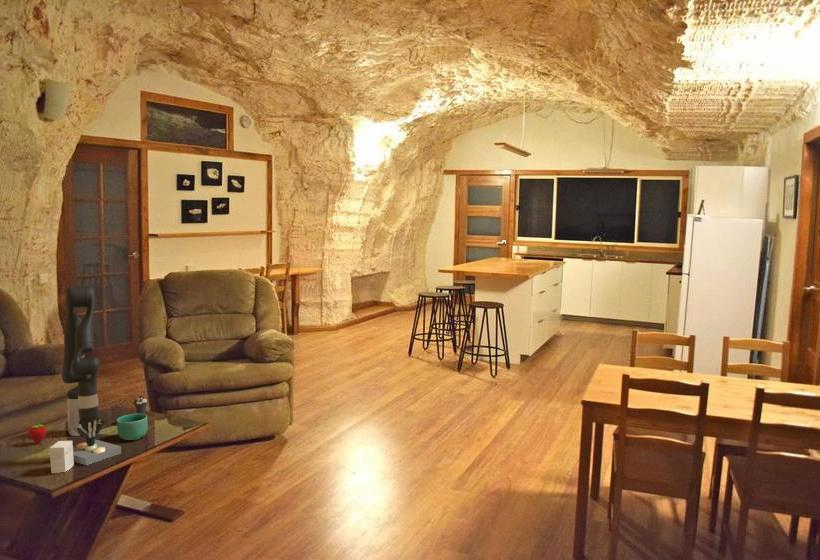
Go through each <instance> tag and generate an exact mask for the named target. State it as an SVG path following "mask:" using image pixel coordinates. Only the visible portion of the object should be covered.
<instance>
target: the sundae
mask: <svg viewBox="0 0 820 560" xmlns="http://www.w3.org/2000/svg"><path fill="white" fill-rule="evenodd" d="M145 393H146V391H143V393H142V394H140V395H139V396H137V398H136V399H135V398H133V401H134V402H133V403H132V405H134V407H135V410H136V414H145V415H146V411H147V405H148V403H149V400H147V399H146V396H145Z"/></svg>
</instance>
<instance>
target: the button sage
mask: <svg viewBox="0 0 820 560" xmlns="http://www.w3.org/2000/svg"><path fill="white" fill-rule="evenodd" d="M94 448H97V444H94V445H93V446H88V445H85V451H88V452H90V451H92V450H93V449H94Z"/></svg>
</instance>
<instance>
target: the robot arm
mask: <svg viewBox="0 0 820 560" xmlns="http://www.w3.org/2000/svg"><path fill="white" fill-rule="evenodd" d="M65 290H66V291H65V325H64V326H65V327H64V337H63V340H64V341H63V342H64V344H63V345H64V346H63V347H64V349H63V359H62V360H63V361H62V367H61V378H62V379H61V380H62V382H63V383H65V384H76V383H77V385H76V386H74V387H73V388H71V389H69V390H68V391H67V393H66V399H67V400H66V401H67V416H66V417H67V418H66V419H67V430H68V434H69V436H73V437H77V436H79V437H80V436H81V438H82V437H83V438H85V440H86V443H87V445H88V446H93V445H94V444H95V440H96V438H95V437H96V435H99V433H100V432H101V430H102V428H103V426H104V425H105V421H106V420H104V419H101V418H100V415H99V414H100V410H99V409H100V407H99V396H98V389H97V387H98V385H97V381H98V376H99V371H100V369H101V361H100V359H99V358H98V357H96V356H90V357H89V356H88V357H83V356H85V355H87V354H91V353H93V352H94V350H95V341H94V340H95V339H94V325H95V323H94V322H95V310H96V309H95V305H96V304H95V303H96V291H95V288H94V287H93V286H92V285H70V286H67V287H66V289H65ZM75 308H86V311H85V315H84V316H83V319H81V318H80V316H79V315H78V313H77V312H76V309H75Z"/></svg>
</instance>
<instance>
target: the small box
mask: <svg viewBox="0 0 820 560" xmlns="http://www.w3.org/2000/svg"><path fill="white" fill-rule="evenodd" d="M73 447H74V445H73V440H58V441H57V442H55V443H54V444H53V445H52V446H50V447H49V458H50V471H51V472H50V473H51V474H52V473H53V474H61V473H60V472H66V471H67V470H68V471H69V470H70V469H72V468H73V467H74V466H75V462H74V459H73ZM68 471H67V472H68ZM67 472H66V473H67Z"/></svg>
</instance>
